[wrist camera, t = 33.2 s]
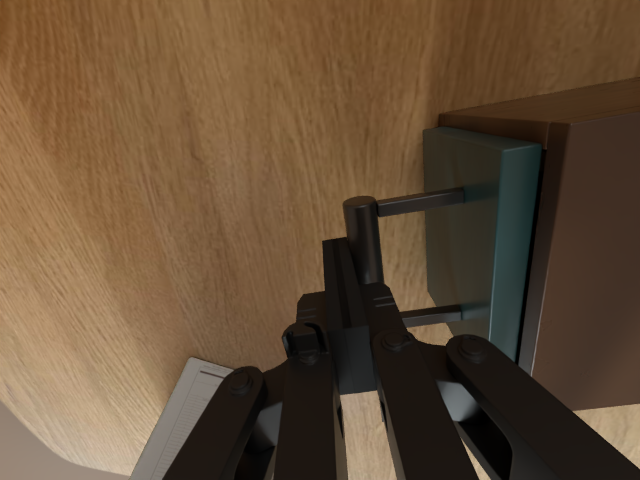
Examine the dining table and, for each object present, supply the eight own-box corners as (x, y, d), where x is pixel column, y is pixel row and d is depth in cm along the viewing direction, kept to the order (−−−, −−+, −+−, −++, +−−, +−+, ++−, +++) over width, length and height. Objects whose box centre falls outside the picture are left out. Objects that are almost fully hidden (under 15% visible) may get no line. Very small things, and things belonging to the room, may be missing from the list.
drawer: (355, 301, 21) (373, 404, 14) (331, 146, 16) (340, 177, 9) (639, 261, 19) (824, 352, 12) (692, 81, 15) (1020, 61, 8)
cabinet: (440, 288, 21) (524, 416, 13) (438, 113, 17) (570, 123, 8) (660, 257, 20) (918, 373, 12) (724, 61, 16) (1242, 6, 7)
